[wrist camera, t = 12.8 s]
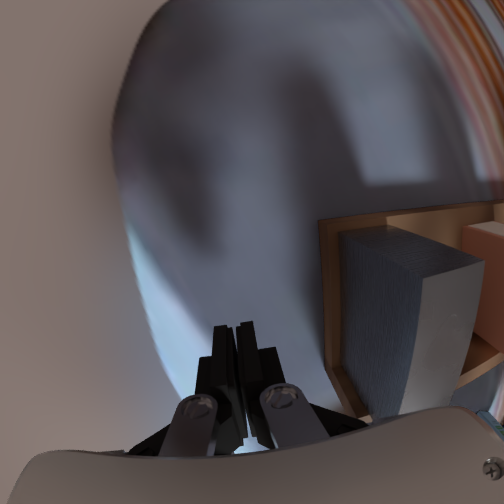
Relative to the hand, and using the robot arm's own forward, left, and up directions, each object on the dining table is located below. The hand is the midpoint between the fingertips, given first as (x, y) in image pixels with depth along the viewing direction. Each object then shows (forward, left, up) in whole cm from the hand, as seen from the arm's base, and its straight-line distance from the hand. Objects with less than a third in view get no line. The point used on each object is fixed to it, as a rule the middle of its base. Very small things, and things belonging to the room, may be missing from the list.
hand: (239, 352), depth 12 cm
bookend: (-7, 0, -3) cm, 8 cm away
